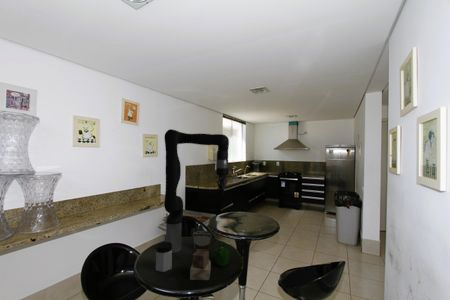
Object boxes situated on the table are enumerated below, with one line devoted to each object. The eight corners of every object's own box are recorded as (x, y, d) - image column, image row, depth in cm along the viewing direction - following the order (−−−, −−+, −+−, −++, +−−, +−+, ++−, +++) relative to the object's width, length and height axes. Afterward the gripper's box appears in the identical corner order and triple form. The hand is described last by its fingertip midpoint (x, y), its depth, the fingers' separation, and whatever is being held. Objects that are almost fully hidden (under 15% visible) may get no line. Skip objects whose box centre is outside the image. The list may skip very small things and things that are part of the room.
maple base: (190, 280, 103) (190, 269, 103) (193, 270, 112) (193, 260, 112) (208, 280, 102) (208, 270, 102) (210, 270, 111) (210, 260, 111)
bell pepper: (218, 259, 123) (218, 241, 123) (231, 262, 120) (231, 244, 120) (211, 266, 115) (211, 247, 115) (225, 269, 112) (226, 250, 112)
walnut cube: (192, 266, 105) (192, 254, 105) (198, 261, 111) (198, 249, 111) (203, 269, 103) (203, 256, 103) (208, 263, 109) (208, 251, 109)
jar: (151, 270, 110) (152, 246, 111) (161, 262, 118) (161, 240, 118) (166, 273, 108) (167, 249, 108) (175, 265, 116) (175, 242, 116)
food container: (212, 246, 140) (213, 230, 141) (211, 250, 134) (211, 234, 134) (194, 245, 142) (194, 229, 142) (192, 249, 135) (192, 233, 136)
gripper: (219, 166, 139) (219, 193, 138) (212, 167, 126) (212, 197, 126) (231, 166, 136) (230, 194, 136) (225, 167, 124) (224, 198, 123)
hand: (222, 195), depth 131 cm, fingers closed
